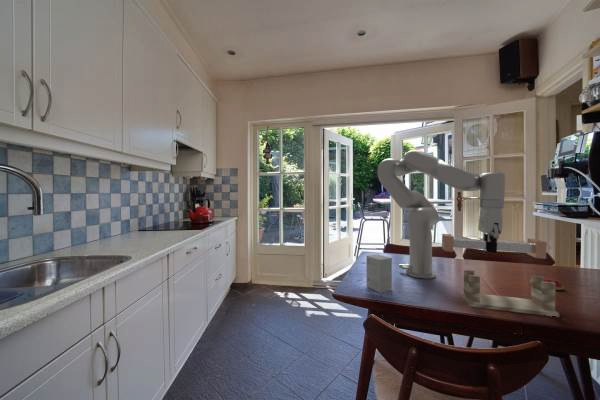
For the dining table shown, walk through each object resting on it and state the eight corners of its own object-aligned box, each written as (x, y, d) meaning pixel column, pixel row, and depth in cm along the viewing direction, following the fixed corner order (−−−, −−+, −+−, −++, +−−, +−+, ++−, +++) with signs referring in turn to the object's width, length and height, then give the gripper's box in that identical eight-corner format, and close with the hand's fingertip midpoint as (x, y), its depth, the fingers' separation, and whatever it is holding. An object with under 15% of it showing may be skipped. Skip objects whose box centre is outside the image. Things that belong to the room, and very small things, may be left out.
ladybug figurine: (529, 282, 107) (529, 274, 107) (562, 287, 101) (562, 279, 101) (530, 286, 102) (530, 278, 102) (565, 293, 96) (565, 283, 96)
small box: (392, 290, 99) (392, 257, 99) (380, 293, 96) (380, 259, 96) (377, 283, 106) (377, 253, 106) (365, 286, 103) (365, 255, 103)
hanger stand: (469, 306, 85) (470, 277, 84) (461, 294, 94) (461, 268, 94) (559, 317, 77) (559, 285, 77) (540, 303, 86) (541, 275, 86)
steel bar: (444, 251, 100) (445, 236, 100) (441, 247, 106) (442, 233, 106) (545, 258, 90) (546, 242, 89) (536, 254, 95) (537, 239, 95)
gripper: (473, 203, 106) (471, 245, 107) (487, 205, 90) (485, 255, 91) (494, 203, 103) (492, 247, 104) (513, 205, 88) (510, 257, 89)
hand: (489, 250), depth 98 cm, fingers closed on steel bar, 3 cm apart
